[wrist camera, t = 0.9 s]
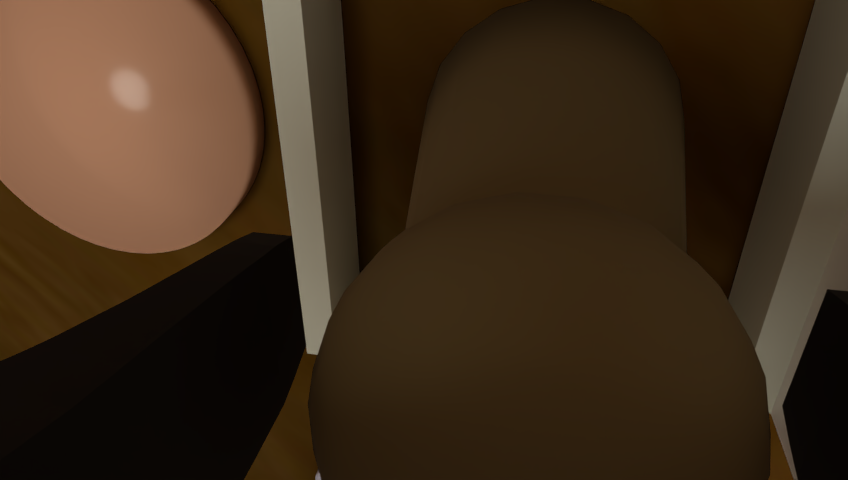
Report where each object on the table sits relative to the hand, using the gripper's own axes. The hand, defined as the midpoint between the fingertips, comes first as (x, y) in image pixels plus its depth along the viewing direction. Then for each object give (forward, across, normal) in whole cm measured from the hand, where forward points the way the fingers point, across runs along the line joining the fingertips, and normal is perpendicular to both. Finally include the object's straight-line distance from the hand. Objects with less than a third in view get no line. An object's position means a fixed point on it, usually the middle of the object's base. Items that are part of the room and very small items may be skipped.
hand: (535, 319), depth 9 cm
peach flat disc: (+8, +12, 0) cm, 14 cm away
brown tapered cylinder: (+8, 0, 0) cm, 8 cm away
